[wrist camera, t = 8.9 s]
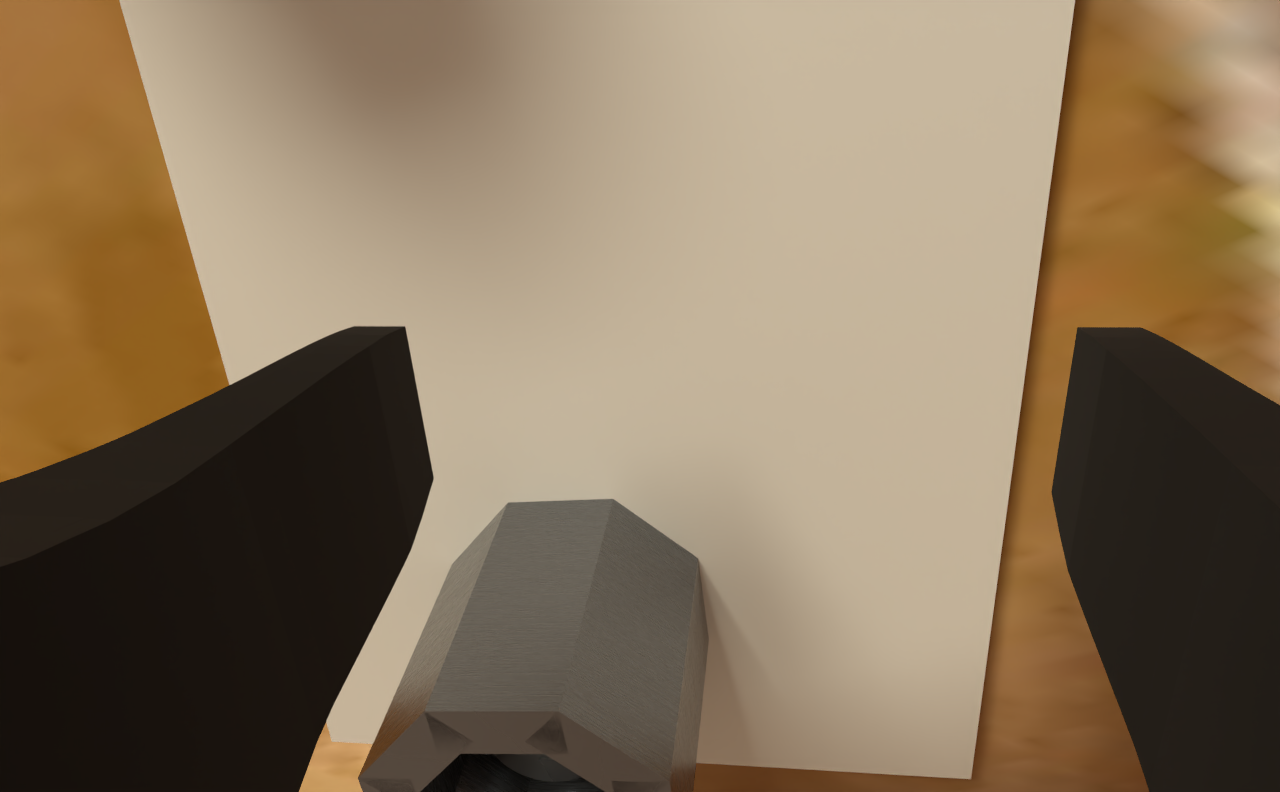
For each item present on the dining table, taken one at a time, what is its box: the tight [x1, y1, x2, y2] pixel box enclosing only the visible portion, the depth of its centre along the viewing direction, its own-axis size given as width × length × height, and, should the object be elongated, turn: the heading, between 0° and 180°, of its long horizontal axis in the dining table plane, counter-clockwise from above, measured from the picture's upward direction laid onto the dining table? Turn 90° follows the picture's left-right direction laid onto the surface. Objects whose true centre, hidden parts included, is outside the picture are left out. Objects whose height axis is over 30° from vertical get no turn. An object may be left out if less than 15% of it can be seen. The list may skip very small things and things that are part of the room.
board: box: [119, 0, 1075, 779], centre depth 22 cm, size 16×22×1 cm
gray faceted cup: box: [358, 499, 709, 792], centre depth 22 cm, size 6×6×6 cm
